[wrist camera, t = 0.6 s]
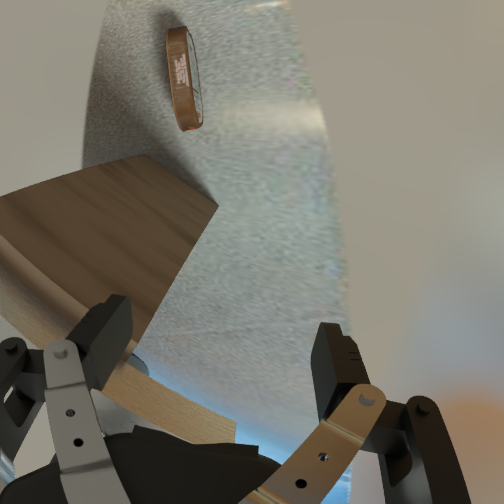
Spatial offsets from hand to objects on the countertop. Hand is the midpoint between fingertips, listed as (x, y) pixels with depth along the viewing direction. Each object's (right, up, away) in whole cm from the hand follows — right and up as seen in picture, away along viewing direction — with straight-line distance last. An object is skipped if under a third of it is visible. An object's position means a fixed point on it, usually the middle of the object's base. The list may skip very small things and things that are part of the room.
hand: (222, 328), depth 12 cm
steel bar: (-10, -3, +4) cm, 11 cm away
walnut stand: (-14, +8, +34) cm, 38 cm away
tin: (-7, +27, +27) cm, 39 cm away
